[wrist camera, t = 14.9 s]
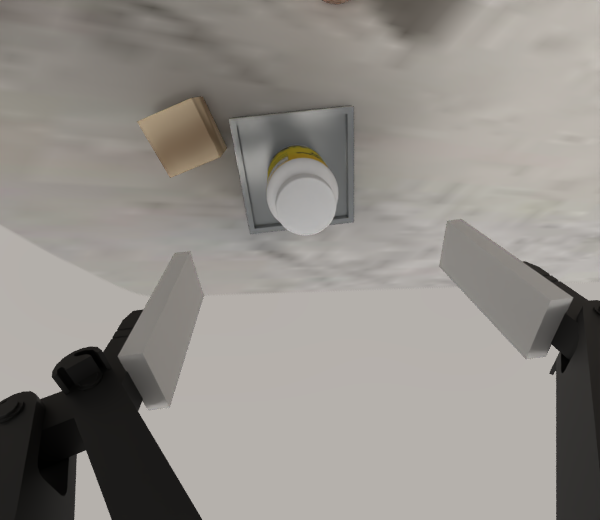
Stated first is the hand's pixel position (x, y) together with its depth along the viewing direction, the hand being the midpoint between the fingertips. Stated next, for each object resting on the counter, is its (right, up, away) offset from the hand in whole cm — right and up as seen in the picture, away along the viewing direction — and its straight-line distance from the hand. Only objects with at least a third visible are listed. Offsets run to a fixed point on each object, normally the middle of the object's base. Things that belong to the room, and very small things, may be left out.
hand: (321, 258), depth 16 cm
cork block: (-12, +13, +15) cm, 23 cm away
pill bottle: (-2, +9, +17) cm, 20 cm away
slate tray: (-2, +10, +17) cm, 20 cm away
